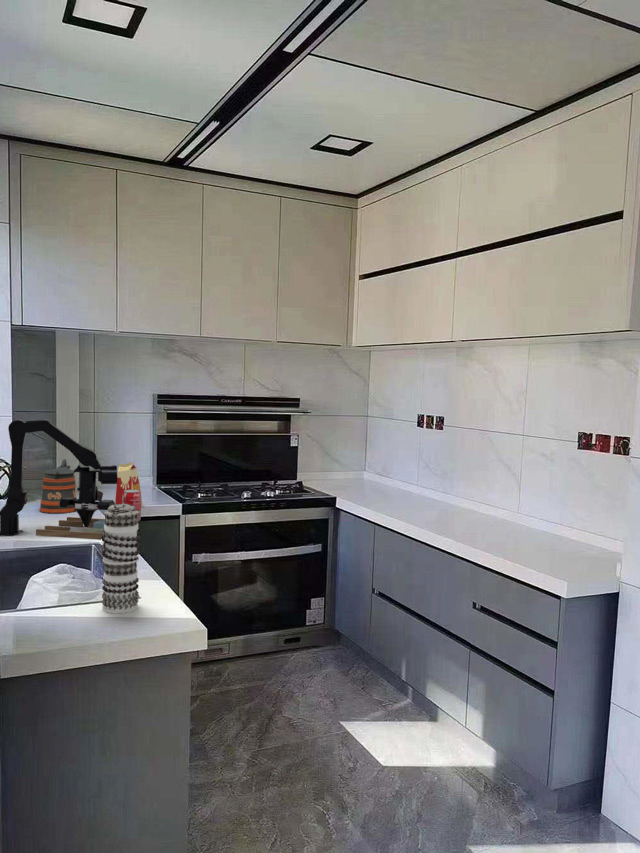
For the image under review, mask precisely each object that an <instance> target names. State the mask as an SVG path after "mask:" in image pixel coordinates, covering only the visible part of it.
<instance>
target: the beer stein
mask: <svg viewBox="0 0 640 853" xmlns="http://www.w3.org/2000/svg"><path fill="white" fill-rule="evenodd" d="M67 464H68V462H67V459H66V458H65V459H63V460H62V461H61V465H60V466H57V467H56V468H52V469H48V470H46V471H45V472H44V476H43V479H42V486H41V487H42V488H41V489H42V494H41V499H40V504H39V505H40V507H39V511H40V512H41V513H45V514H56V515H57V514H67V513H74V512H77V511H76V510H74V509H75V505H69V506H68V507H59V501H60V500H61V499H63V498H66V497H73V498H76V499H78V498H77V491H76V490H77V489H76V488H77V485H76V484H77V483H76V477H75V474H76V472H74V470H73V469H71V465H67Z"/></svg>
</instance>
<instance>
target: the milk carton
mask: <svg viewBox="0 0 640 853" xmlns="http://www.w3.org/2000/svg"><path fill="white" fill-rule="evenodd" d="M134 463H135V461H132V462H128V463H123V464H121V463H120V464H117V467H118V468H117V475H118V478H117V484H115V495H114V496H115V499H114V502H115V504H122V496H123V494H124V491H125V490H139V492H140V494H141V509H142V508H143V506H144V505H143V498H142V491H141V484H140V478H139V472H138V468H137V467H136V465H134Z"/></svg>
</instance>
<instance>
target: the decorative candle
mask: <svg viewBox="0 0 640 853" xmlns="http://www.w3.org/2000/svg"><path fill="white" fill-rule="evenodd" d="M138 513H139V511H138V510H136V509H135V507H134V506H133V505H130V504H115V505H111V506H110V507H109V508H108V510H104V519H105V524H104V528H103V530H102V531H101V533H102V535H103V536H102V537H101V538H102V540H101V541H102V542H103V544H102V545H101V548H102V551H101V556H103V558H102V562H103V563H104V572H103V579H102V584H103V585H102V591H103V592H102V593H101V597H102V600H101V605H102V607H101V608H102V611H103V612H105V613H109V614H123V613H130V612H134V611H136V610H137V609H138V608H139V604H138V603H139V591H138V589H139V582H140V580H139V577H138V573H139V572H138V571H139V570H137V567H138V564H137V563H138V561H139V560H140V558H139V556H138V555H140V554H141V551H140V550H138V547H140V546H141V543H140V542H139V541H140V540H141V539H142V537H141V536H139V535H138V533H141V532H142V529H141V528H140V527H139V523H138V522H137V520H138V517H137V514H138ZM105 532H106V533H105Z"/></svg>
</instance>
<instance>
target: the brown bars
mask: <svg viewBox="0 0 640 853" xmlns="http://www.w3.org/2000/svg"><path fill="white" fill-rule="evenodd" d="M101 519H102V518H93V517H92V519H91V521H90V524H89V526H88V527H87V528H85V527H84V524H83V522H82V520H81V518H80V517H78V516H77V517H75V516H74V517H73V516H67V517H66V520H65V519H64V520H63V519H59V520H58V525H57V526H56V525H44V529H43V528H42V529H41V528H40V529H39V528H37V529H35V536H37V537H55V538H57V537H58V538H72V539H74V538H75V539H88V540H101V539H102V538H101V537H102V536H103V535H102V533H101V531H102V530H103V529H95V528H93V522H96V521H99V520H101ZM72 527H73V528H84V531H77V530H76V531H73V530H71V528H72ZM105 533H106V532H105Z"/></svg>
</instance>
